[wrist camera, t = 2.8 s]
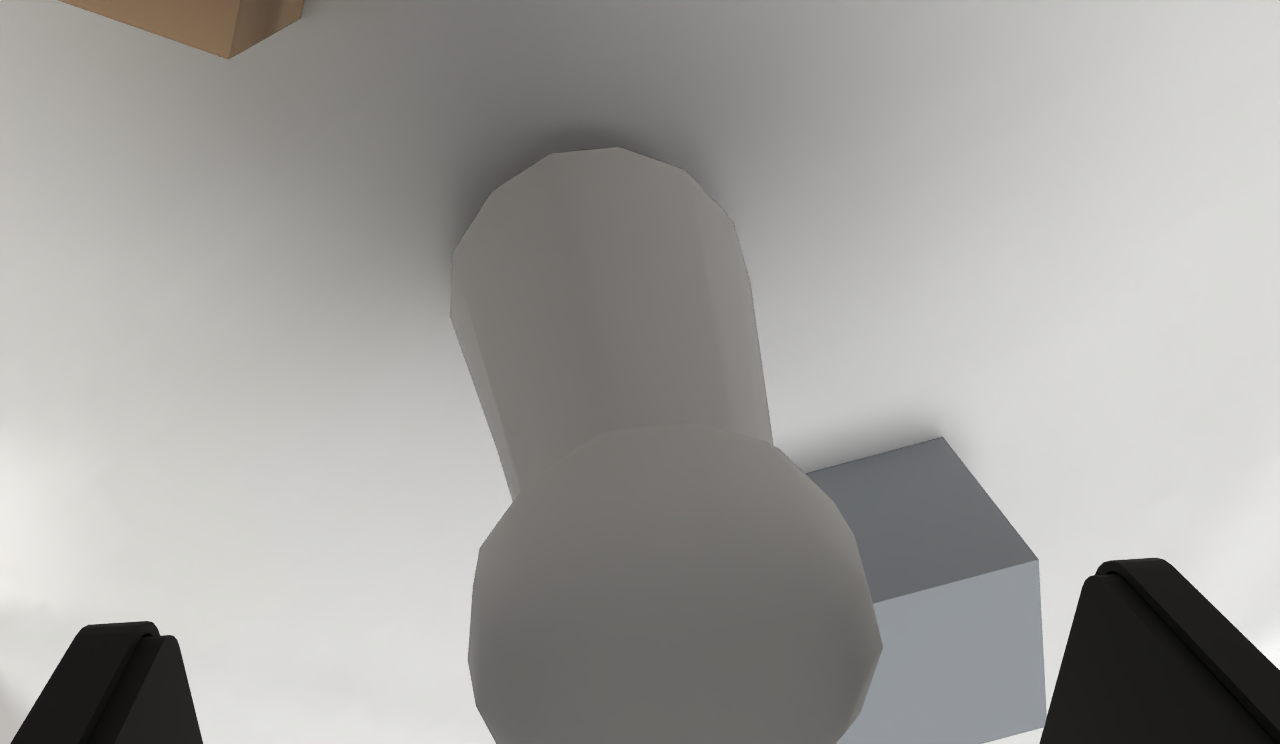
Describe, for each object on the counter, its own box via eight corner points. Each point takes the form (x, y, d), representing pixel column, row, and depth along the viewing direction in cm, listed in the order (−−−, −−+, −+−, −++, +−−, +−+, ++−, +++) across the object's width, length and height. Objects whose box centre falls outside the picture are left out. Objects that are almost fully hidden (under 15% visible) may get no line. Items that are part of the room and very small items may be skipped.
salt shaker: (478, 389, 22) (431, 952, 10) (433, 139, 19) (301, 513, 7) (730, 358, 22) (962, 867, 10) (720, 108, 19) (1016, 421, 8)
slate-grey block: (749, 486, 24) (802, 623, 19) (941, 435, 24) (1038, 559, 19) (782, 631, 26) (835, 782, 22) (957, 584, 26) (1047, 726, 22)
